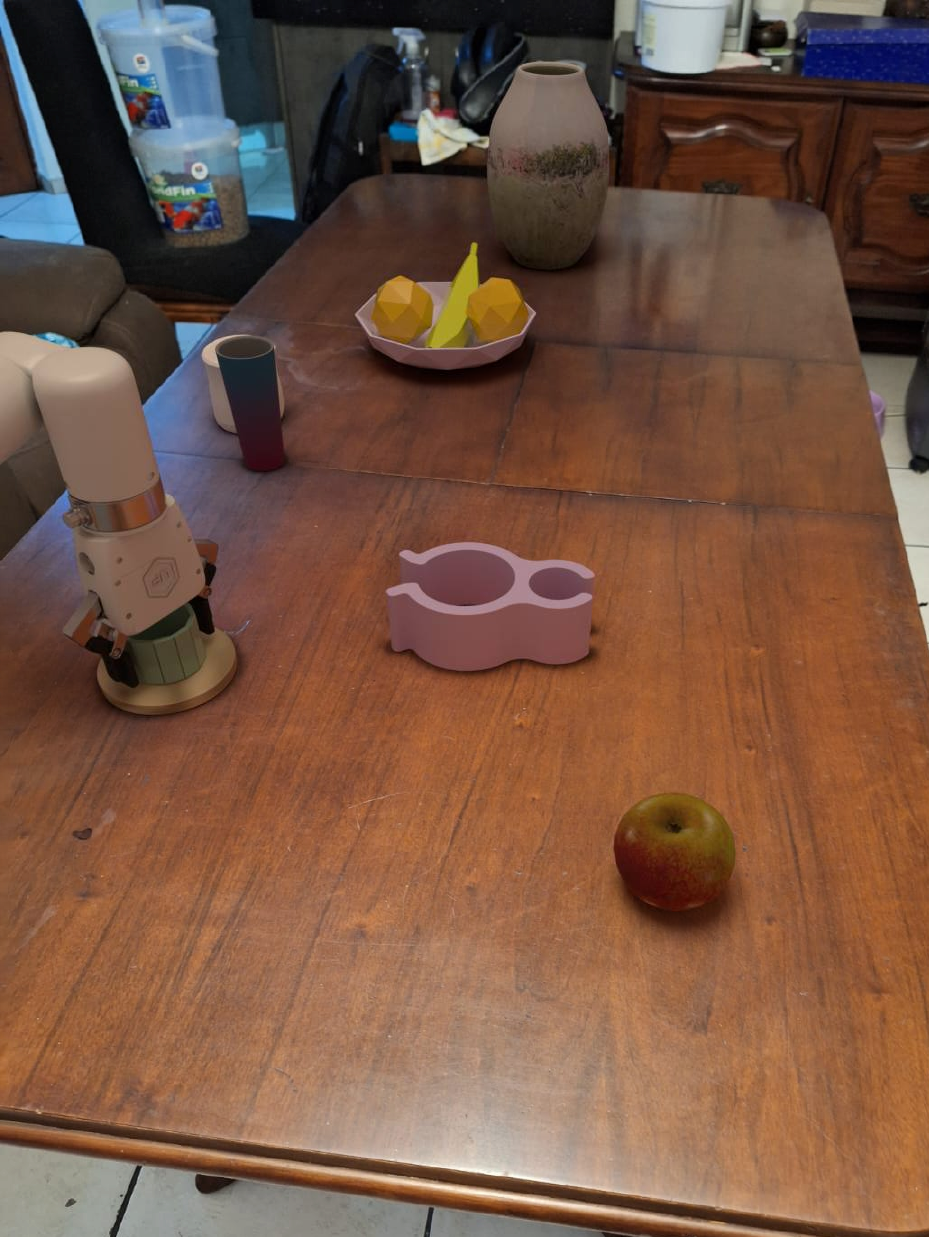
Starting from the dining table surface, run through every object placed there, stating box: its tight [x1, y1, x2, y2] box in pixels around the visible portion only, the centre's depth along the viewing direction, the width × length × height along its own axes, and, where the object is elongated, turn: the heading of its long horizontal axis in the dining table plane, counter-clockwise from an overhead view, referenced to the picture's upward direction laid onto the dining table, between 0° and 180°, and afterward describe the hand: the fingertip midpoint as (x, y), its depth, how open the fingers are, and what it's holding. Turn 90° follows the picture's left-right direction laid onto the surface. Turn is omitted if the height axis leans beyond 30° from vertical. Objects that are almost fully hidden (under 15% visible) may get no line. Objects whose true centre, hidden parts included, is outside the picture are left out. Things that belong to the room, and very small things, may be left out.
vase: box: [486, 61, 610, 271], centre depth 178 cm, size 21×21×30 cm
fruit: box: [613, 792, 736, 912], centre depth 80 cm, size 10×9×8 cm
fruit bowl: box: [354, 241, 537, 371], centre depth 154 cm, size 28×27×11 cm
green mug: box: [110, 603, 206, 685], centre depth 98 cm, size 10×7×5 cm
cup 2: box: [215, 334, 286, 472], centre depth 126 cm, size 7×7×15 cm
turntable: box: [96, 626, 238, 716], centre depth 100 cm, size 13×13×1 cm
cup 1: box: [200, 334, 286, 435], centre depth 136 cm, size 10×10×10 cm
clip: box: [385, 541, 595, 672], centre depth 103 cm, size 20×12×7 cm, turn 85°
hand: (164, 654), depth 99 cm, fingers open, 9 cm apart
